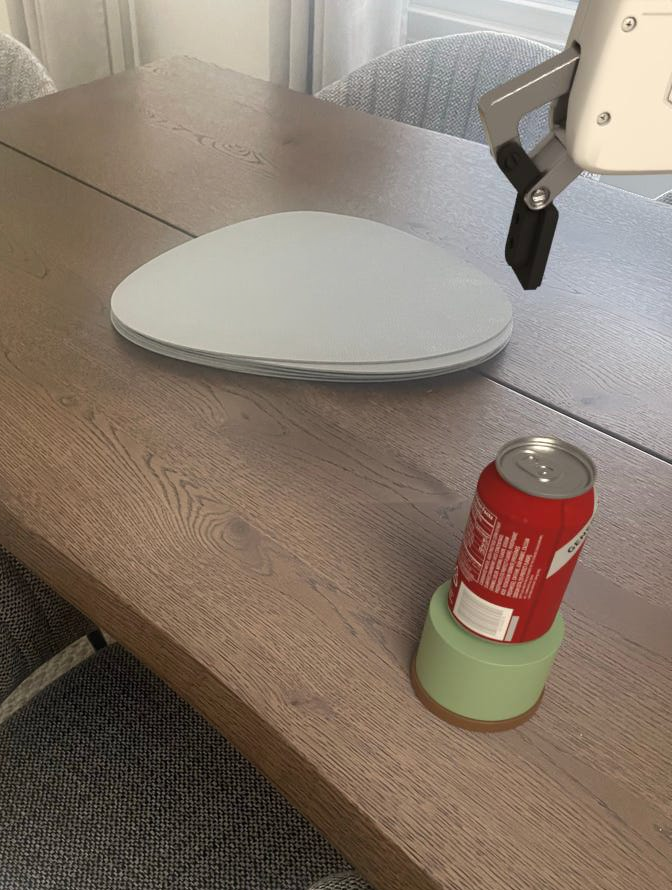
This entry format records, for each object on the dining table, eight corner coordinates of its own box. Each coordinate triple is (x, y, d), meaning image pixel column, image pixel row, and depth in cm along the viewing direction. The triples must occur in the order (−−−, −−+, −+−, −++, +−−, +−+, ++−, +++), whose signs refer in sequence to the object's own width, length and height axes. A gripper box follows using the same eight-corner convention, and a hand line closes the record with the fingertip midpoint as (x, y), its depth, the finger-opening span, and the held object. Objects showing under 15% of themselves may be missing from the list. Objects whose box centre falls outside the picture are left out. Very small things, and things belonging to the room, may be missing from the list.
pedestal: (522, 633, 71) (545, 567, 66) (557, 731, 65) (586, 666, 60) (399, 636, 70) (414, 570, 66) (423, 734, 64) (442, 670, 60)
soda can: (498, 668, 60) (550, 518, 51) (423, 604, 64) (459, 454, 55) (573, 625, 62) (635, 474, 53) (496, 566, 66) (543, 416, 57)
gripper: (560, -135, 34) (465, 317, 46) (1047, -147, 34) (821, 305, 47) (504, -170, 39) (433, 246, 51) (928, -181, 39) (754, 236, 52)
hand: (618, 274), depth 49 cm, fingers open, 9 cm apart
